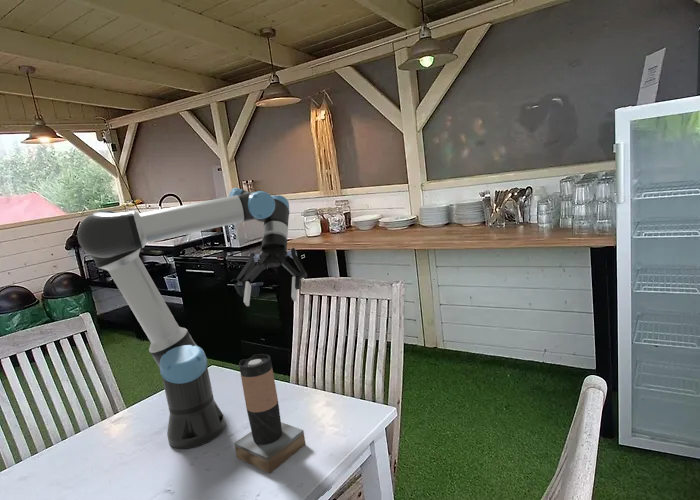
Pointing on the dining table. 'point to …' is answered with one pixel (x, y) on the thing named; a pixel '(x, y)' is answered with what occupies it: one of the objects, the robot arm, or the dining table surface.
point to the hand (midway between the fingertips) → (269, 301)
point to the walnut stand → (270, 448)
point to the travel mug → (261, 398)
